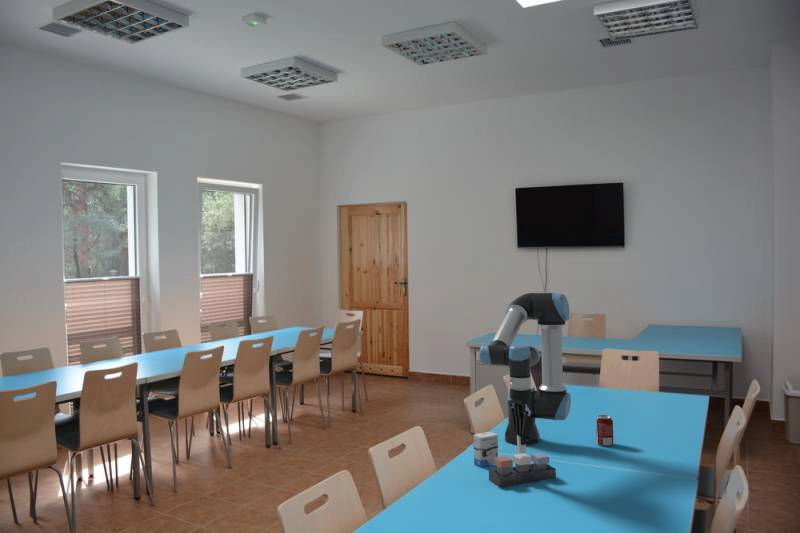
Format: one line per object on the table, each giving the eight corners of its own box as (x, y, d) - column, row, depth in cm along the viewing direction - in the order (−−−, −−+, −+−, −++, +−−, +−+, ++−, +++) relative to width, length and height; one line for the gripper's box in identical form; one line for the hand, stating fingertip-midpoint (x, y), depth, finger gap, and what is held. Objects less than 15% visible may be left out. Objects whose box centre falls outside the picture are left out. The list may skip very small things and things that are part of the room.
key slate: (538, 473, 224) (537, 458, 224) (531, 468, 228) (530, 454, 228) (549, 471, 225) (549, 456, 225) (542, 467, 230) (542, 452, 230)
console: (499, 487, 217) (499, 478, 217) (489, 480, 225) (488, 470, 224) (555, 478, 224) (555, 469, 224) (544, 471, 232) (543, 462, 232)
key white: (519, 473, 221) (519, 458, 221) (513, 469, 226) (512, 454, 226) (531, 471, 223) (531, 457, 223) (524, 467, 227) (524, 453, 227)
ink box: (481, 468, 237) (480, 437, 237) (473, 464, 242) (472, 434, 242) (499, 464, 241) (498, 434, 241) (491, 460, 246) (490, 430, 245)
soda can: (614, 447, 257) (613, 418, 257) (597, 446, 259) (597, 418, 258) (612, 442, 264) (611, 414, 264) (595, 441, 265) (595, 414, 265)
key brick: (501, 476, 219) (500, 461, 219) (494, 472, 223) (494, 457, 223) (513, 474, 220) (512, 459, 220) (506, 470, 225) (506, 455, 225)
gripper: (502, 385, 229) (503, 448, 229) (520, 392, 216) (521, 459, 217) (520, 383, 231) (521, 446, 231) (538, 390, 219) (540, 456, 219)
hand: (521, 452), depth 224 cm, fingers closed
